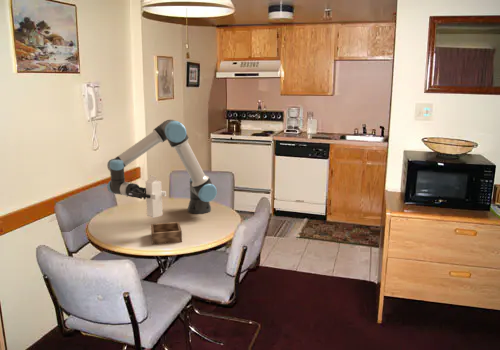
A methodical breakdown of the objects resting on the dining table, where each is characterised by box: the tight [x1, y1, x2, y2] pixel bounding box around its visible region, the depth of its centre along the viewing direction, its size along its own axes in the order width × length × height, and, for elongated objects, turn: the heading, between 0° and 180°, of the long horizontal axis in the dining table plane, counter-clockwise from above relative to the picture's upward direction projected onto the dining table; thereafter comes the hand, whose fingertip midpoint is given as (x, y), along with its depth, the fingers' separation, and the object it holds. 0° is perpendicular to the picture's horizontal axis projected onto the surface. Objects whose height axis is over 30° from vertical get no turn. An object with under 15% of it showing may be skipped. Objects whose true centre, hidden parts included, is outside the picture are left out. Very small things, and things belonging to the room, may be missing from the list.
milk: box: [145, 175, 164, 219], centre depth 227 cm, size 6×6×22 cm
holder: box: [150, 221, 183, 245], centre depth 228 cm, size 15×15×6 cm
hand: (160, 195), depth 224 cm, fingers closed on milk, 7 cm apart
